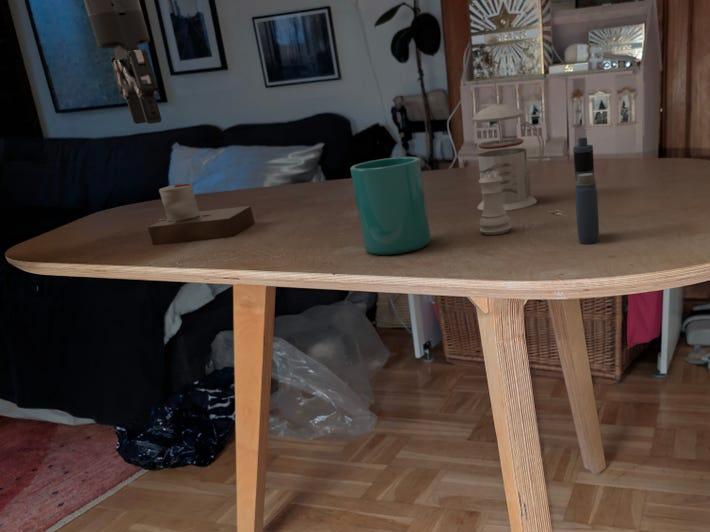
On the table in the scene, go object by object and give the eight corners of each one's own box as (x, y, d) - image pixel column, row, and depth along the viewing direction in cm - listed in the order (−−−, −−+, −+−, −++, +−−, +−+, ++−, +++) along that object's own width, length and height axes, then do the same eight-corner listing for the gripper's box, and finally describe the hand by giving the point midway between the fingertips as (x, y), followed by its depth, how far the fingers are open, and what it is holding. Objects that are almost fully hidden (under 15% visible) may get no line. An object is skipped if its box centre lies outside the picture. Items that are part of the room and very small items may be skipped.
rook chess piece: (494, 226, 100) (488, 169, 97) (518, 228, 97) (512, 169, 94) (473, 234, 97) (466, 175, 94) (497, 236, 94) (490, 176, 91)
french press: (488, 198, 120) (471, 38, 110) (554, 195, 116) (542, 29, 106) (468, 212, 111) (447, 40, 101) (538, 209, 107) (524, 30, 97)
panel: (149, 245, 117) (143, 226, 115) (176, 231, 126) (171, 213, 125) (233, 236, 115) (228, 217, 114) (254, 222, 124) (250, 205, 123)
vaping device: (597, 232, 90) (592, 136, 85) (600, 243, 85) (595, 141, 80) (577, 234, 90) (571, 138, 86) (578, 245, 86) (572, 143, 81)
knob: (162, 222, 117) (152, 189, 115) (176, 215, 122) (167, 184, 120) (191, 219, 117) (182, 186, 115) (204, 212, 122) (196, 180, 119)
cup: (443, 231, 101) (432, 151, 97) (421, 254, 90) (407, 165, 86) (384, 235, 103) (371, 157, 99) (355, 258, 92) (339, 171, 88)
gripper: (80, 18, 110) (113, 126, 116) (97, 7, 99) (133, 126, 105) (130, 15, 114) (160, 120, 120) (152, 3, 103) (184, 119, 109)
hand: (147, 123), depth 113 cm, fingers open, 8 cm apart
